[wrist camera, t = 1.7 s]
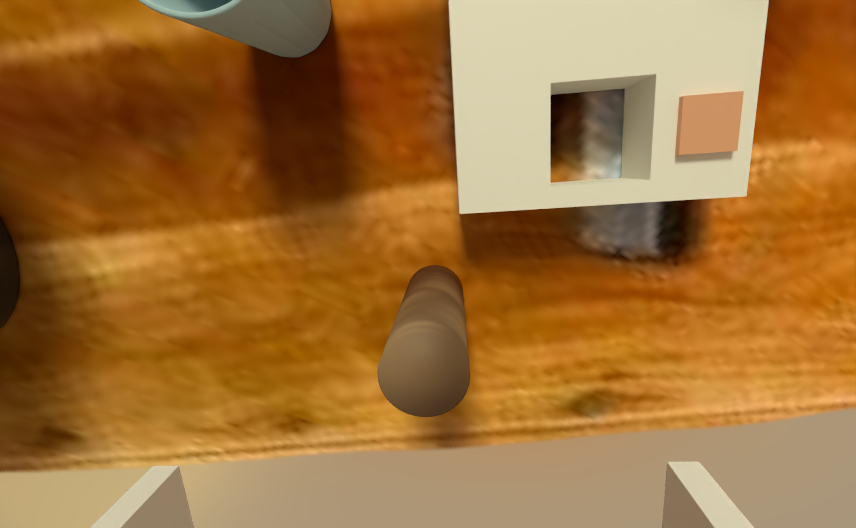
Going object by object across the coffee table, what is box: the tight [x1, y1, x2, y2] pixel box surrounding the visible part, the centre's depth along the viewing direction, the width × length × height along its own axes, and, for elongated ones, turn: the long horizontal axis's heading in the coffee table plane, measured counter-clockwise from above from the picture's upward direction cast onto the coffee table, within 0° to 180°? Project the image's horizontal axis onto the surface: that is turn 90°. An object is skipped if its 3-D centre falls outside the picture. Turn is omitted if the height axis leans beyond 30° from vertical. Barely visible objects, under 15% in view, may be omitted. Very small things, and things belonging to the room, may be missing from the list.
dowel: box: [378, 265, 470, 417], centre depth 23 cm, size 4×4×12 cm
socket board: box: [448, 0, 769, 214], centre depth 22 cm, size 16×18×4 cm
